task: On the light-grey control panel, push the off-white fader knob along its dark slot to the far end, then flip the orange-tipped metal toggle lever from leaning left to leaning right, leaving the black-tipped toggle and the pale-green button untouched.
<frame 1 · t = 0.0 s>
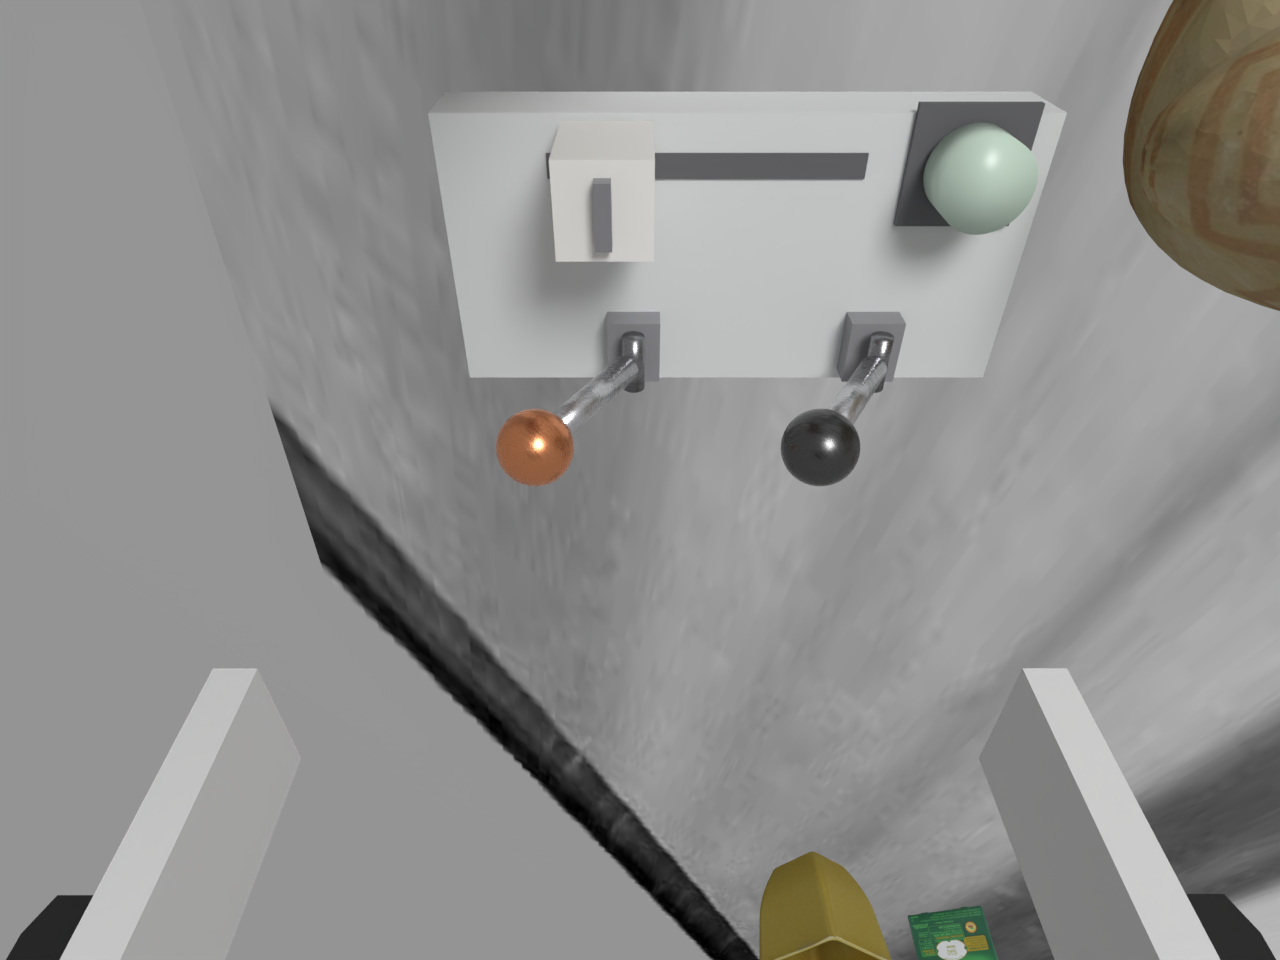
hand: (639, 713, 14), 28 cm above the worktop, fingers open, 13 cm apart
ceramic vessel: (1263, 90, 33), on the worktop
button green: (938, 141, 34), resting on panel, slide at 0.0 cm
toggle black: (877, 362, 35), point 5 cm above the worktop, hinge at -30.0°
coffee box: (943, 911, 84), on the worktop
panel: (728, 229, 37), on the worktop
flower pot: (808, 863, 77), on the worktop
toggle orange: (633, 362, 35), point 5 cm above the worktop, hinge at -30.0°
fader knob: (610, 141, 34), resting on panel, slide at 0.0 cm
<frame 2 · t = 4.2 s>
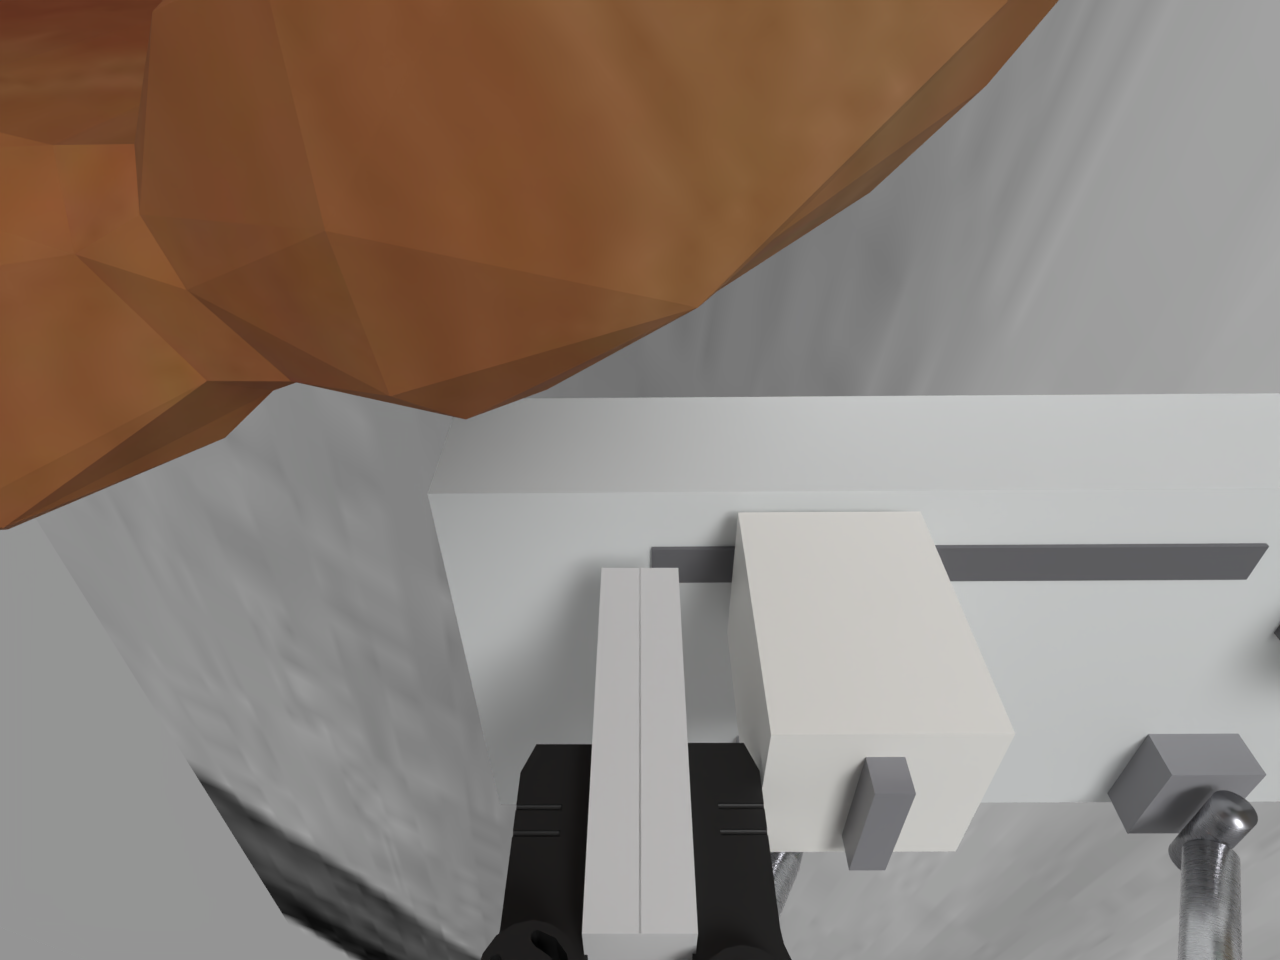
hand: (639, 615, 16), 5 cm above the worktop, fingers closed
toggle black: (1210, 834, 20), point 6 cm above the worktop, hinge at -30.0°
panel: (932, 575, 22), on the worktop
toggle orange: (786, 836, 20), point 6 cm above the worktop, hinge at -30.0°
fader knob: (789, 463, 20), resting on panel, slide at 1.0 cm, touching gripper
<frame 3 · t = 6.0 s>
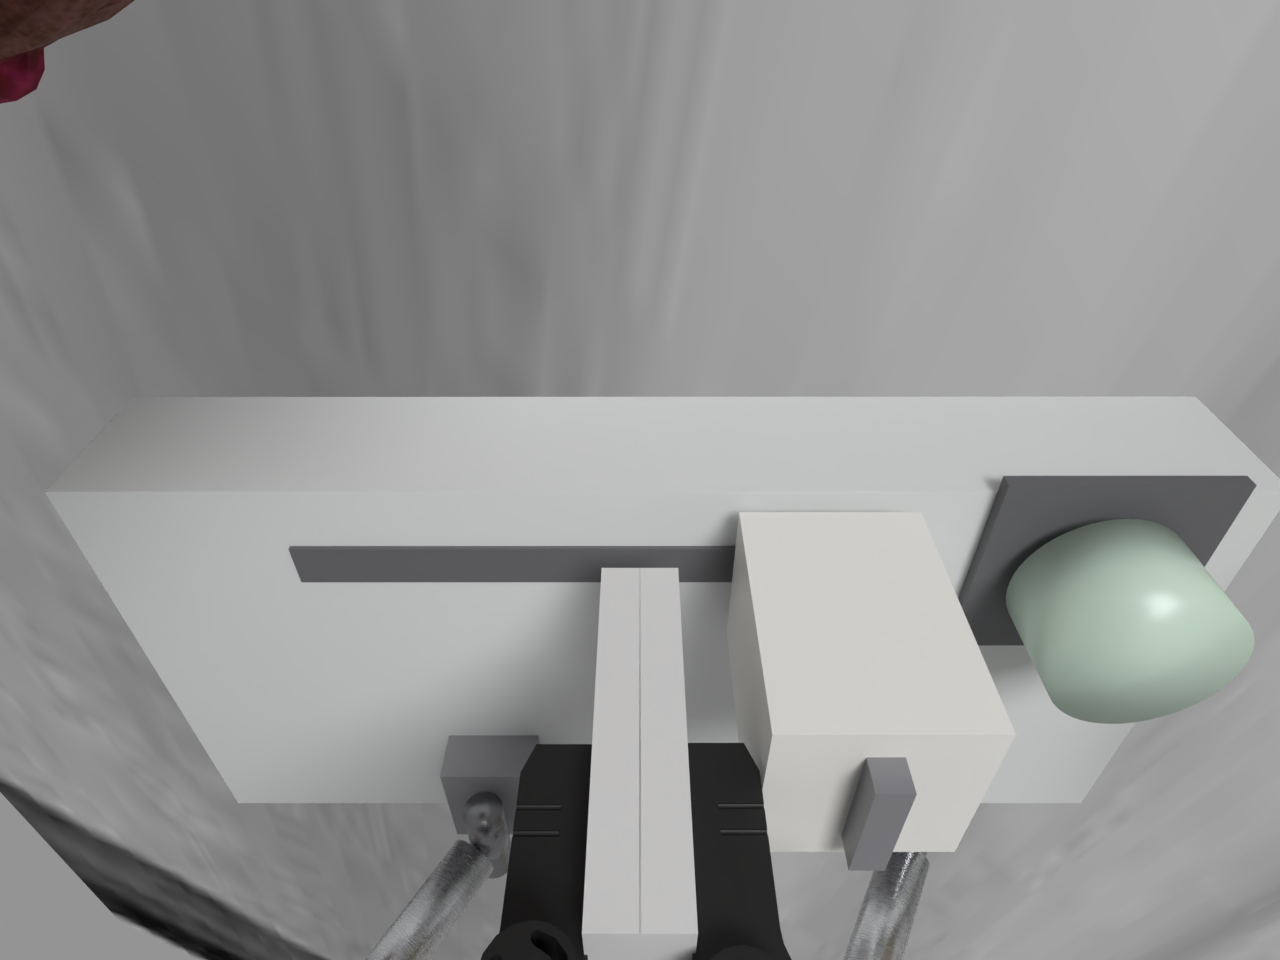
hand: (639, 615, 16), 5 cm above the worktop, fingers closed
button green: (1020, 463, 20), resting on panel, slide at 0.0 cm
toggle black: (911, 836, 20), point 6 cm above the worktop, hinge at -30.0°
panel: (660, 575, 22), on the worktop
toggle orange: (489, 836, 20), point 6 cm above the worktop, hinge at -30.0°
fader knob: (789, 464, 20), resting on panel, slide at 8.7 cm, touching gripper
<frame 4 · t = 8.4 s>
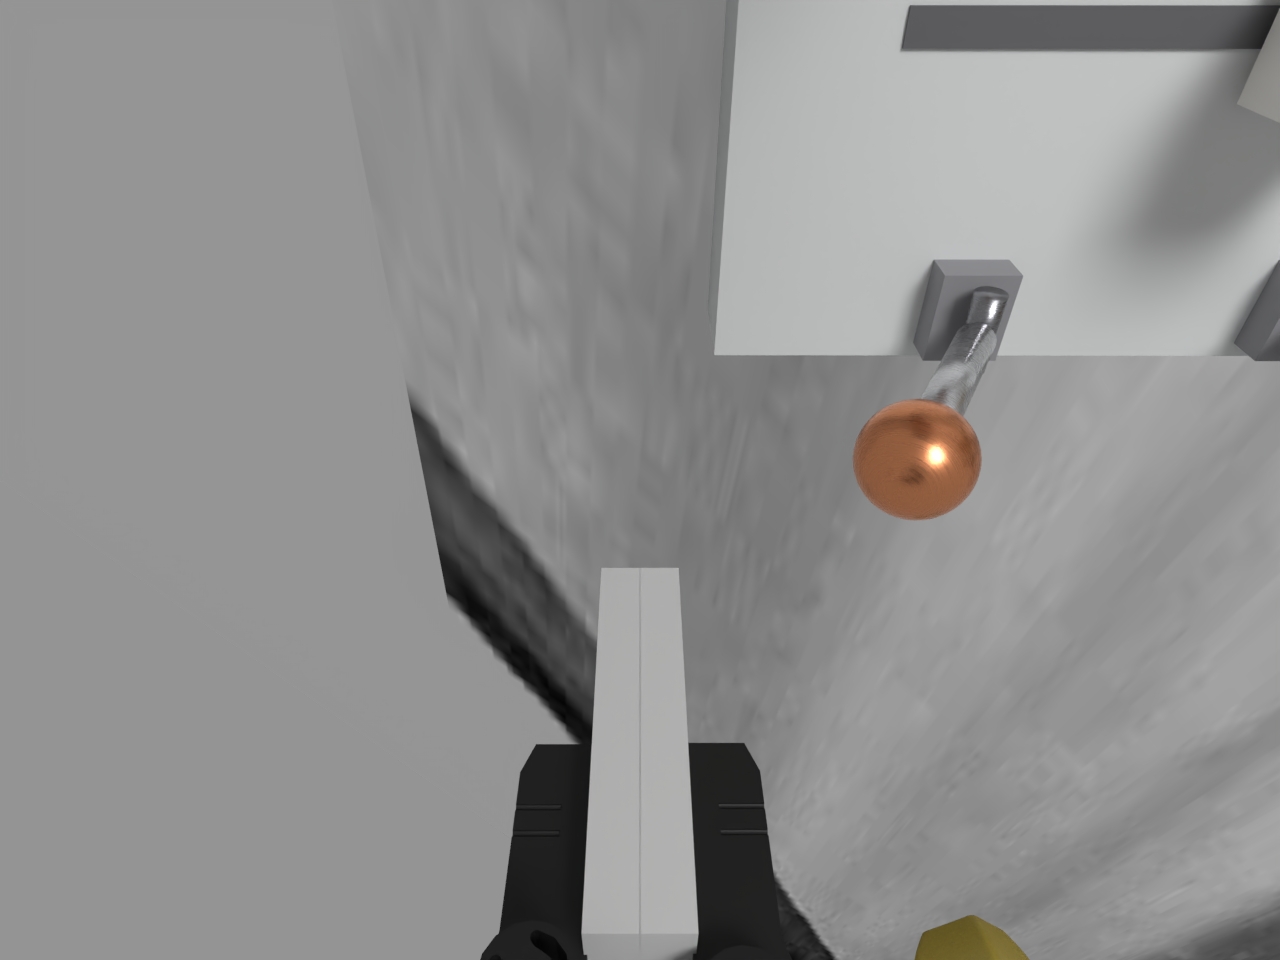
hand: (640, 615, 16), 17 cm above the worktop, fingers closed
panel: (1092, 144, 26), on the worktop
flower pot: (962, 926, 67), on the worktop
toggle orange: (979, 332, 24), point 6 cm above the worktop, hinge at -30.0°
fader knob: (1249, 5, 23), resting on panel, slide at 8.7 cm
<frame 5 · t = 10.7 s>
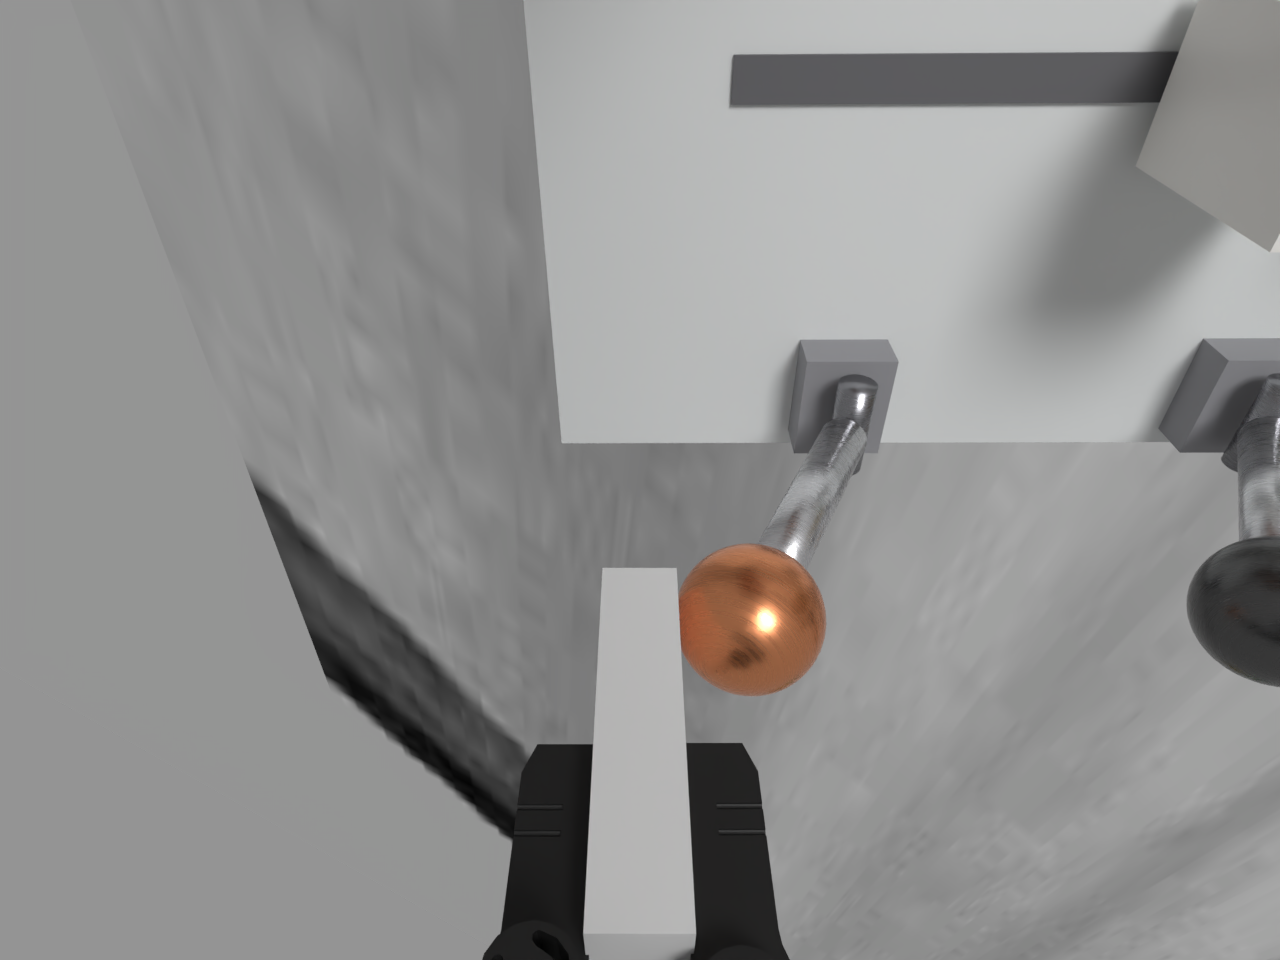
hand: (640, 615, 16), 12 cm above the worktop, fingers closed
toggle black: (1265, 425, 21), point 6 cm above the worktop, hinge at -30.0°
panel: (989, 202, 23), on the worktop
toggle orange: (849, 426, 21), point 5 cm above the worktop, hinge at -26.6°, touching gripper
fader knob: (1159, 45, 20), resting on panel, slide at 8.7 cm
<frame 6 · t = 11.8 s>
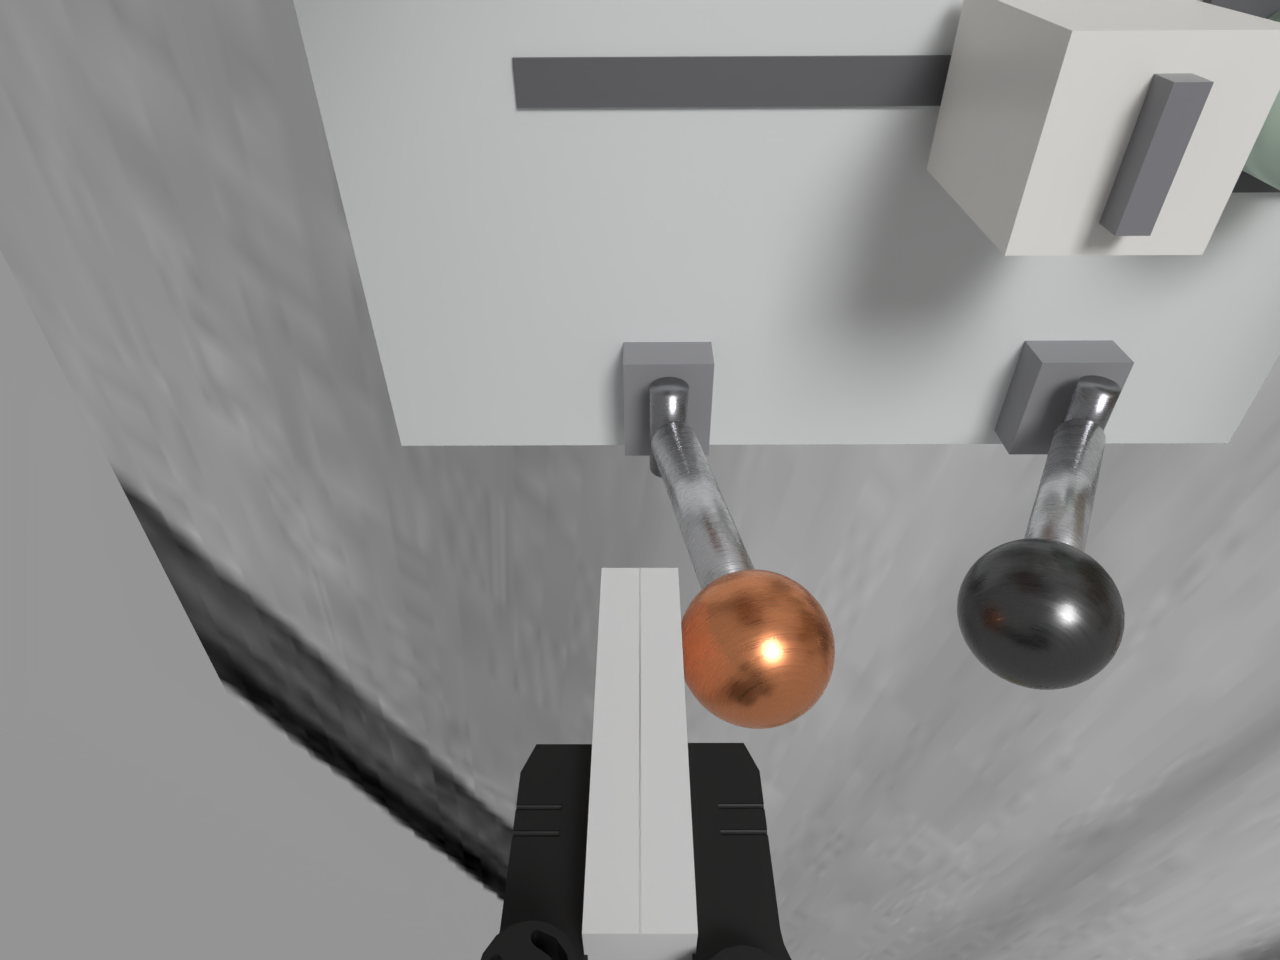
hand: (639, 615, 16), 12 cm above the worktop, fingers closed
button green: (1194, 48, 20), resting on panel, slide at 0.0 cm
toggle black: (1081, 427, 21), point 5 cm above the worktop, hinge at -30.0°
panel: (821, 205, 23), on the worktop
toggle orange: (668, 428, 21), point 6 cm above the worktop, hinge at 11.4°, touching gripper
fader knob: (969, 49, 20), resting on panel, slide at 8.7 cm
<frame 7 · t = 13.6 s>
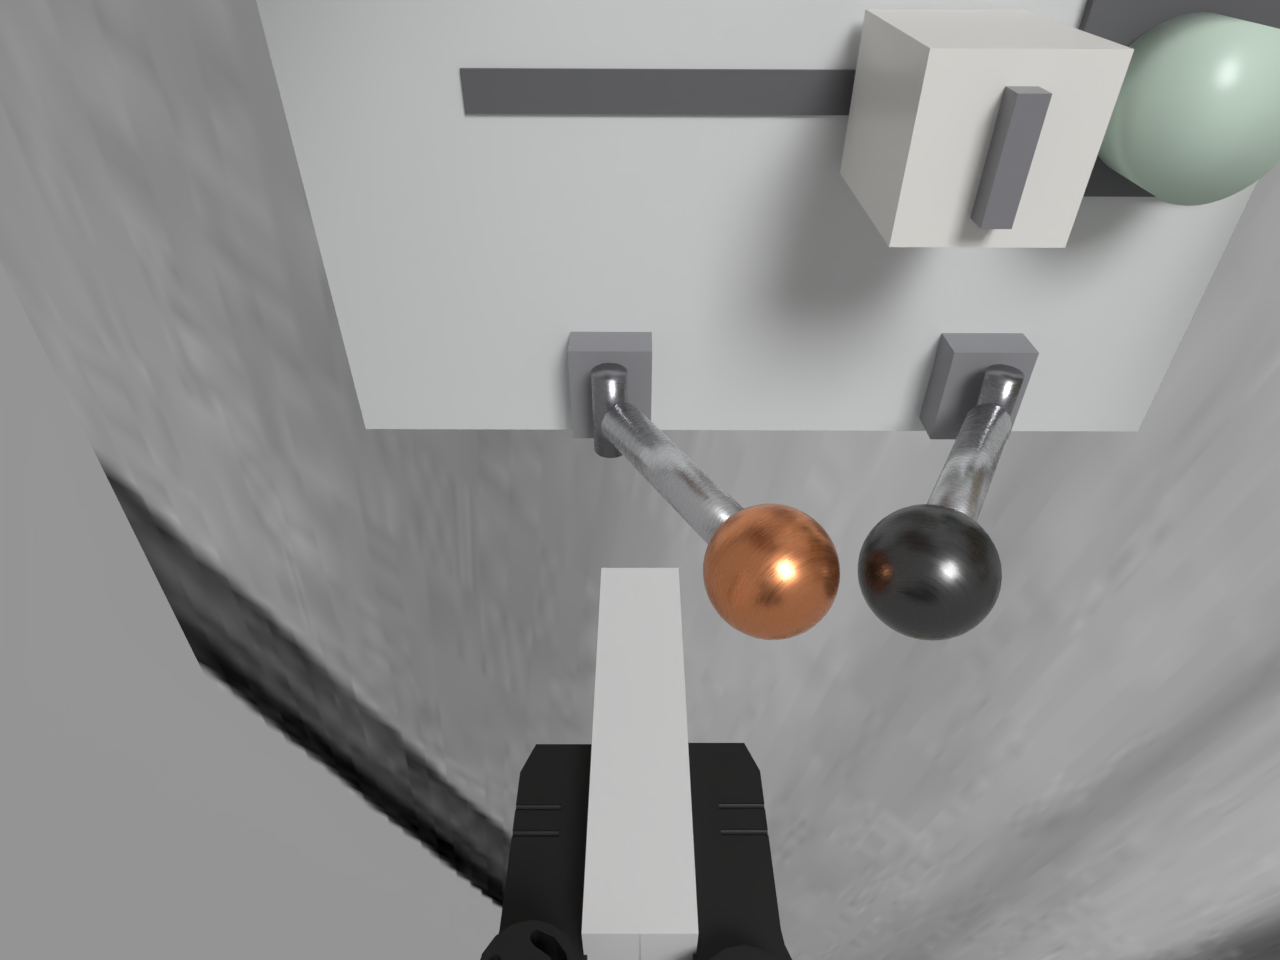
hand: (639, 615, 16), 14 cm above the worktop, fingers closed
button green: (1091, 65, 22), resting on panel, slide at 0.0 cm
toggle black: (992, 412, 22), point 5 cm above the worktop, hinge at -30.0°
panel: (757, 207, 24), on the worktop
toggle orange: (610, 411, 22), point 5 cm above the worktop, hinge at 30.1°
fader knob: (886, 64, 22), resting on panel, slide at 8.7 cm
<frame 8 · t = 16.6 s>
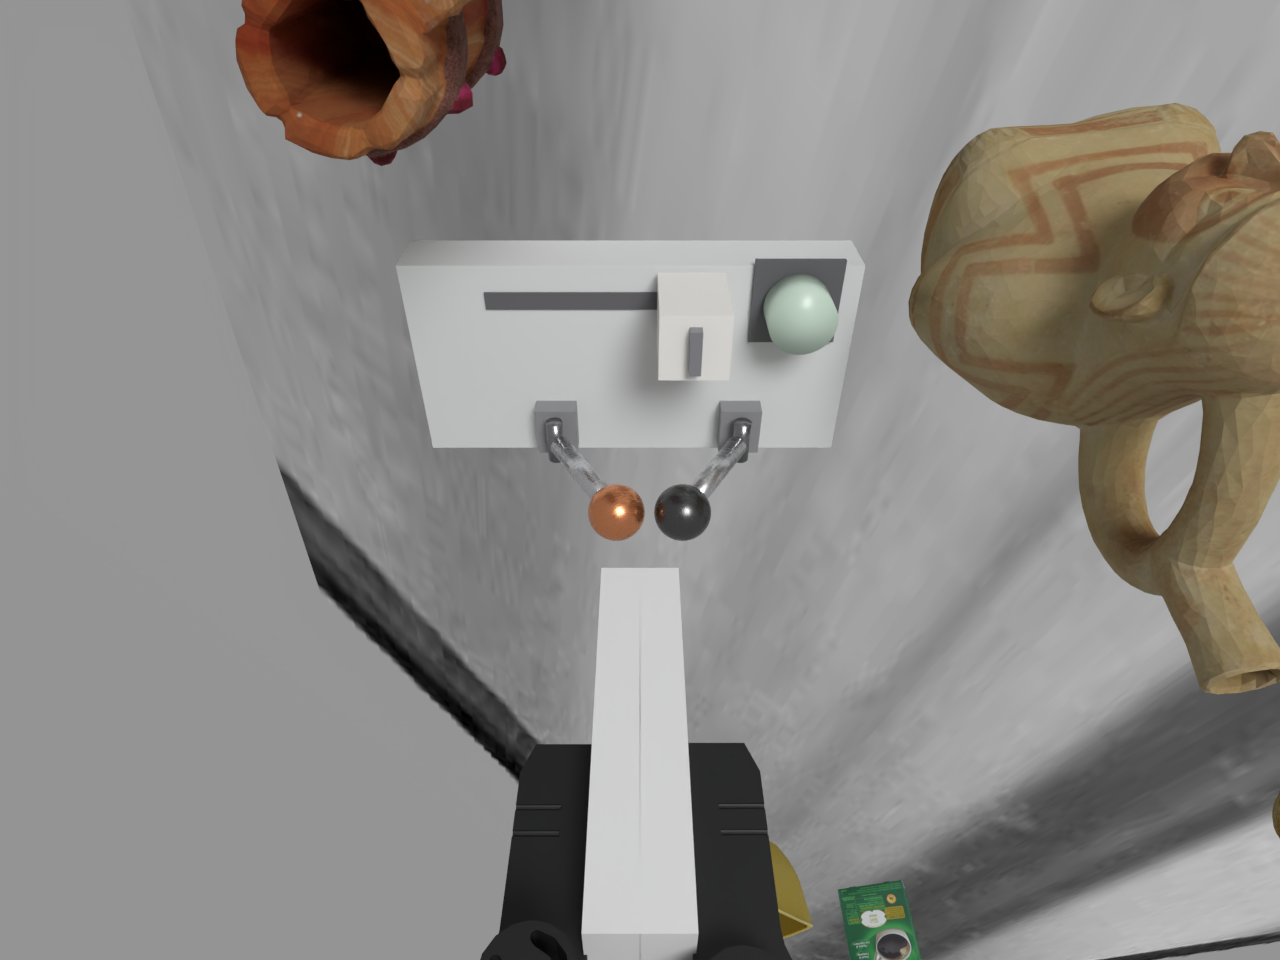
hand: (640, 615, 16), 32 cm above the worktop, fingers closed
ceramic vessel: (1026, 238, 44), on the worktop
button green: (785, 273, 45), resting on panel, slide at 0.0 cm
toggle black: (741, 440, 46), point 6 cm above the worktop, hinge at -30.0°
coffee box: (869, 886, 95), on the worktop
panel: (631, 335, 48), on the worktop
flower pot: (746, 841, 88), on the worktop
toggle orange: (555, 440, 46), point 6 cm above the worktop, hinge at 30.1°
fader knob: (686, 273, 45), resting on panel, slide at 8.7 cm
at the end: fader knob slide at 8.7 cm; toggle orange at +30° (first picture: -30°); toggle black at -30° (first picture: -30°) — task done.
